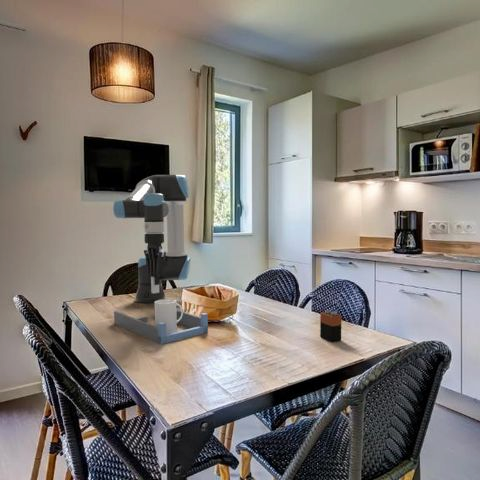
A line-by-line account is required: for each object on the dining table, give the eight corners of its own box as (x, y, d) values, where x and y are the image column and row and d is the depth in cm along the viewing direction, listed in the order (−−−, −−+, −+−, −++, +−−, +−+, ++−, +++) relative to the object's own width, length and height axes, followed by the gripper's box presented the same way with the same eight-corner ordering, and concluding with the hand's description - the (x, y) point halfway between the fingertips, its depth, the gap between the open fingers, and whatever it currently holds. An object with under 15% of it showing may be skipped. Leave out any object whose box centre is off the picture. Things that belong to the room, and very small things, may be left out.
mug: (179, 326, 156) (178, 297, 155) (189, 332, 149) (188, 300, 148) (150, 332, 149) (150, 300, 148) (160, 337, 142) (159, 305, 141)
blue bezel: (205, 331, 150) (204, 312, 149) (207, 332, 148) (207, 313, 148) (158, 343, 136) (157, 323, 135) (161, 344, 135) (160, 324, 134)
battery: (332, 342, 136) (332, 314, 135) (319, 337, 142) (319, 309, 141) (341, 340, 138) (342, 312, 137) (329, 335, 144) (329, 308, 143)
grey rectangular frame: (157, 314, 175) (157, 303, 174) (205, 331, 150) (204, 318, 149) (114, 323, 161) (114, 311, 160) (158, 343, 136) (158, 328, 136)
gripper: (137, 233, 156) (138, 291, 158) (154, 233, 147) (155, 296, 148) (154, 232, 161) (155, 289, 163) (171, 233, 152) (172, 293, 153)
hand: (155, 292), depth 155 cm, fingers closed
